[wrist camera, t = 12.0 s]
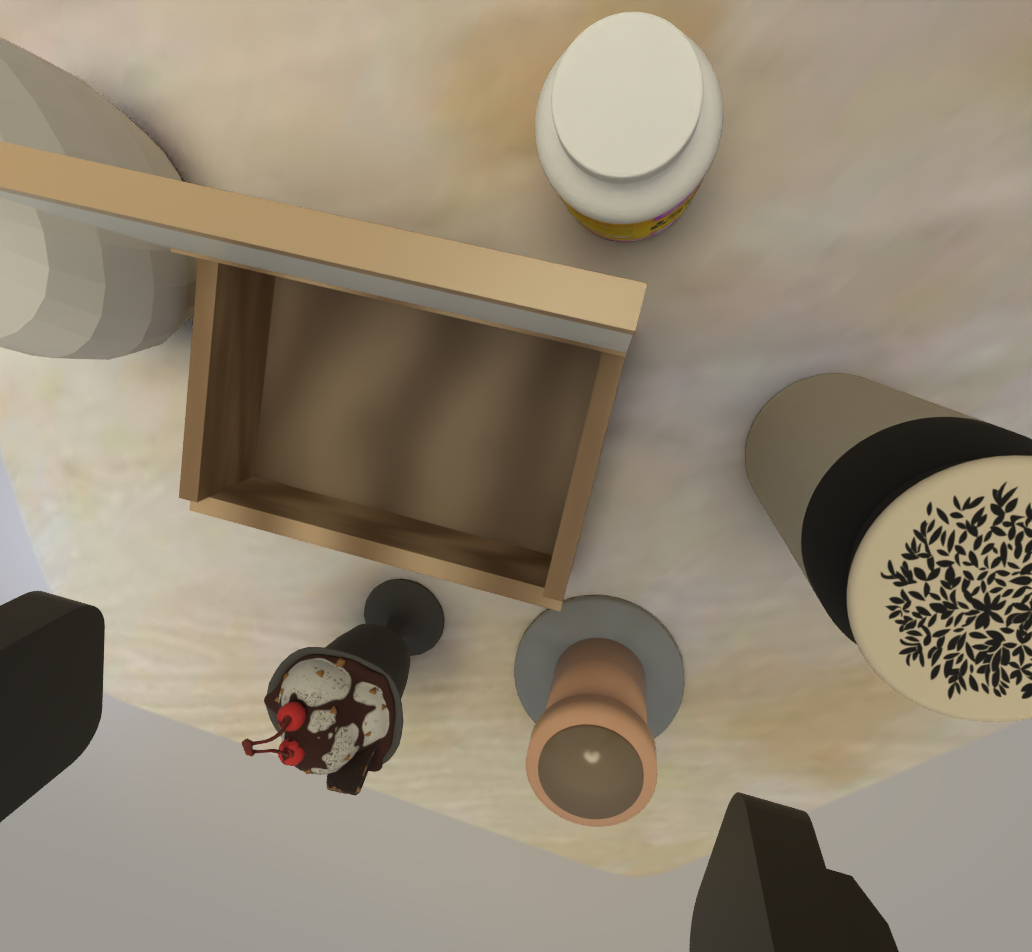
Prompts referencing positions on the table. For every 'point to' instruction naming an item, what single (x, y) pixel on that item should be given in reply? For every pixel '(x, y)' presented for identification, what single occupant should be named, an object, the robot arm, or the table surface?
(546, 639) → the slate saucer
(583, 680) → the clay pot
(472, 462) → the box
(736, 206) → the table surface
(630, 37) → the supplement bottle
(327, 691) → the sundae
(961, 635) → the travel mug
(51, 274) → the soap bottle
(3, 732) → the robot arm
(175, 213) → the frame lid
